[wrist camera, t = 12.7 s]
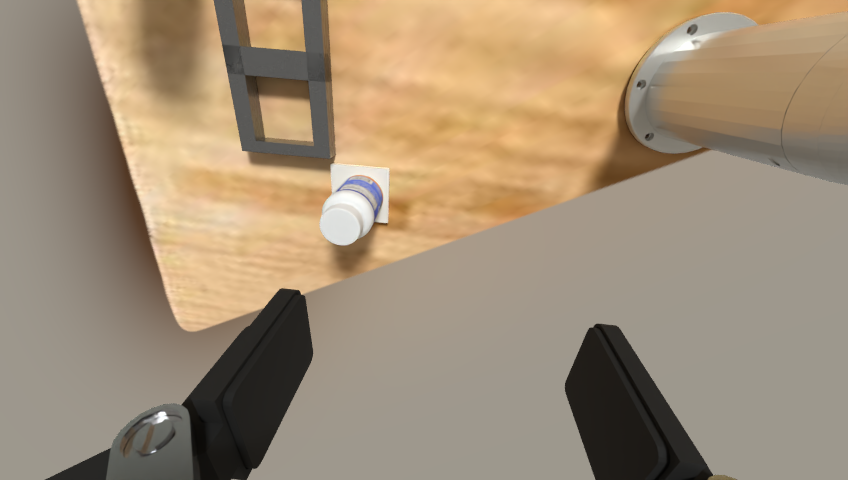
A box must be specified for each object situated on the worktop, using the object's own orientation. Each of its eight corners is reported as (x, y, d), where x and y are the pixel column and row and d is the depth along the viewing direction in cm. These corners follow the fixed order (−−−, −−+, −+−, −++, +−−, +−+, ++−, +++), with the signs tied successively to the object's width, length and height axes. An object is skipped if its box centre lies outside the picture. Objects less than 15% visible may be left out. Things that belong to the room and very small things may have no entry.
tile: (389, 168, 37) (389, 169, 37) (388, 221, 41) (387, 223, 40) (331, 162, 38) (330, 164, 37) (335, 216, 41) (333, 218, 40)
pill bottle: (362, 222, 40) (340, 262, 32) (331, 191, 39) (300, 224, 30) (393, 198, 39) (379, 233, 30) (362, 163, 37) (338, 190, 28)
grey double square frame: (324, -44, 29) (317, -52, 27) (335, 154, 37) (330, 158, 35) (216, -53, 29) (202, -61, 27) (251, 147, 37) (242, 150, 35)
